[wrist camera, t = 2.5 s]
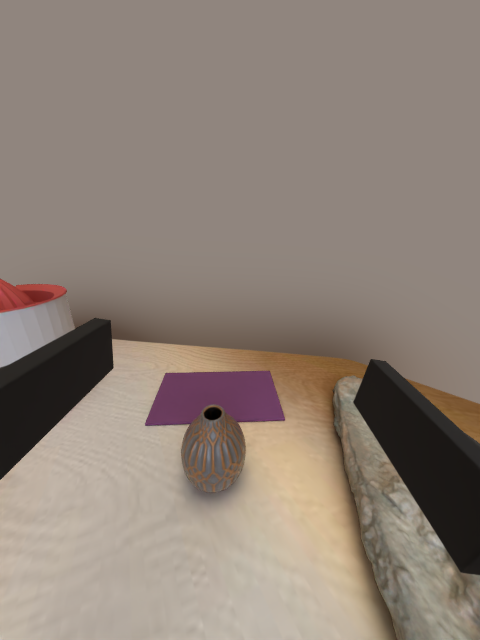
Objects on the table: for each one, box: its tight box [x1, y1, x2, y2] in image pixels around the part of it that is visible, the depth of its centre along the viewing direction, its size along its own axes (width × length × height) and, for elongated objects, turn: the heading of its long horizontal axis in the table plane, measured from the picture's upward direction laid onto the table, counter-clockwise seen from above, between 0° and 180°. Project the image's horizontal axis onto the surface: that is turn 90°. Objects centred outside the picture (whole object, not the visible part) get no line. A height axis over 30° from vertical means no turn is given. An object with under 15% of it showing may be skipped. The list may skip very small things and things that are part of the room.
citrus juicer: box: [0, 279, 75, 367], centre depth 33 cm, size 16×17×20 cm
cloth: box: [145, 371, 285, 425], centre depth 38 cm, size 20×12×1 cm, turn 94°
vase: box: [181, 404, 246, 493], centre depth 24 cm, size 7×7×9 cm
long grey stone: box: [333, 376, 480, 640], centre depth 24 cm, size 35×5×10 cm
